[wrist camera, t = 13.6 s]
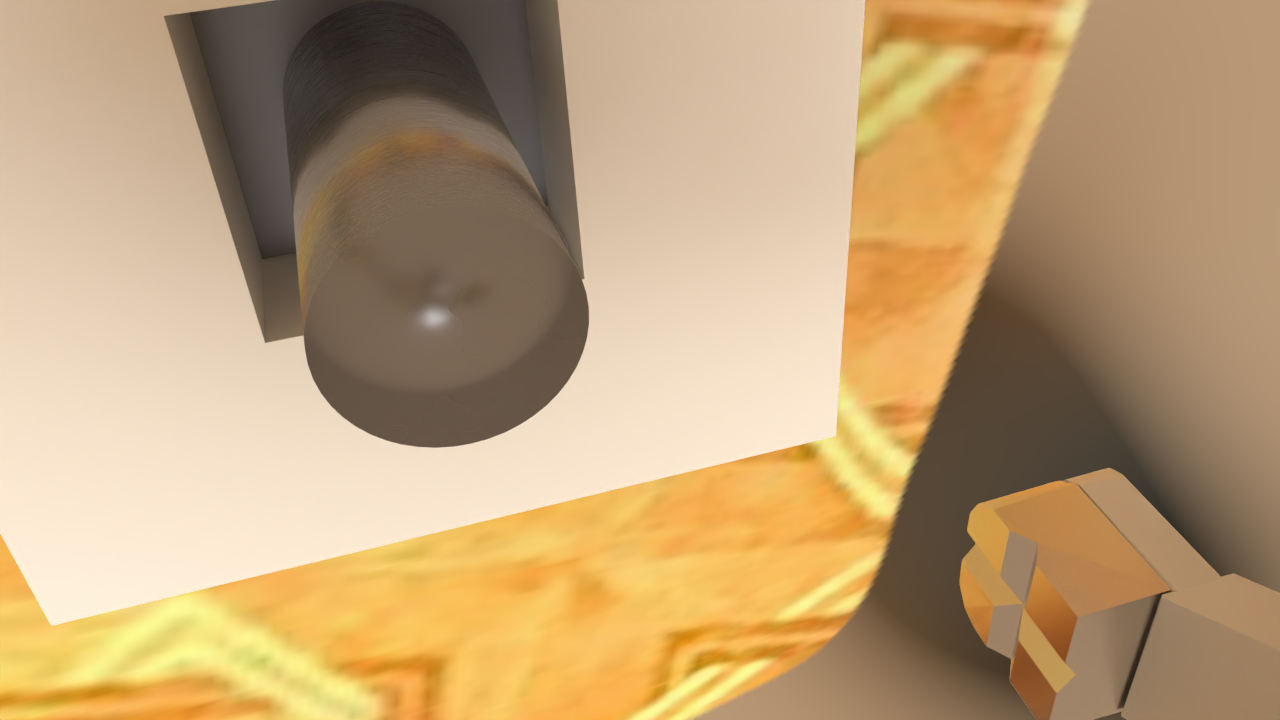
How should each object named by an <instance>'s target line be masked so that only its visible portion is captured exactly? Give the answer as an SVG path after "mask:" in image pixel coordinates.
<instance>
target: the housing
mask: <svg viewBox="0 0 1280 720" xmlns="http://www.w3.org/2000/svg"><path fill="white" fill-rule="evenodd" d="M379 1H380V2H394V3H400V4H405V5H409V6H412V7H415V8H418V9H421V10H423V11H425V12H427V13H429V14H431V15H433V16H434V17H436V18H437V19H439V20H440V21H442V22H443V23H445V24H446V25H447V26H448V27H449V28H450V29H452V30H453V31H454V32H455V34H456V35H457V36H458V37H459V38H460V39H461V40H462V42H463V43H464V45H465V46H466V47H467V49H468V50H469V52H470V54H471V56H472V58H473V60H474V62H475V64H476V66H477V68H478V70H479V72H480V74H481V76H482V78H483V80H484V82H485V84H486V86H487V88H488V90H489V92H490V94H491V96H492V98H493V100H494V102H495V105H496V107H497V109H498V111H499V113H500V115H501V117H502V119H503V121H504V123H505V125H506V127H507V129H508V131H509V133H510V135H511V137H512V139H513V141H514V143H515V145H516V147H517V149H518V151H519V153H520V155H521V157H522V159H523V161H524V163H525V165H526V167H527V169H528V171H529V173H530V175H531V177H532V179H533V181H534V183H535V185H536V187H537V189H538V191H539V193H540V195H541V197H542V200H543V202H544V204H545V206H546V208H547V210H548V212H549V214H550V216H551V218H552V220H553V222H554V224H555V226H556V228H557V230H558V232H559V234H560V236H561V238H562V240H563V242H564V244H565V246H566V248H567V250H568V252H569V254H570V256H571V258H572V260H573V262H574V264H575V266H576V268H577V270H578V272H579V274H580V276H581V278H582V281H583V284H584V287H585V290H586V294H587V300H588V306H589V327H588V334H587V340H586V343H585V347H584V350H583V354H582V356H581V358H580V360H579V363H578V365H577V367H576V369H575V371H574V372H573V374H572V376H571V377H570V379H569V381H568V382H567V383H566V384H565V386H564V387H563V388H562V390H561V391H560V392H559V393H558V394H557V395H556V396H555V397H554V398H553V399H552V400H551V402H550V403H549V404H548V405H546V406H545V407H544V408H543V409H542V410H540V411H539V412H538V413H537V414H535V415H534V416H533V417H531V418H530V419H528V420H526V421H525V422H523V423H522V424H520V425H519V426H517V427H515V428H513V429H511V430H509V431H507V432H505V433H502V434H500V435H497V436H495V437H492V438H489V439H486V440H483V441H479V442H475V443H472V444H466V445H460V446H454V447H440V448H430V447H415V446H408V445H402V444H398V443H394V442H390V441H386V440H384V439H381V438H378V437H376V436H373V435H371V434H369V433H367V432H365V431H363V430H361V429H359V428H358V427H356V426H354V425H353V424H352V423H350V422H349V421H347V420H346V419H345V418H343V417H342V416H341V415H340V414H339V413H338V412H337V411H336V410H335V409H334V408H332V407H331V406H330V404H329V403H328V402H327V400H326V399H325V398H324V397H323V395H322V394H321V392H320V391H319V389H318V387H317V385H316V384H315V382H314V380H313V378H312V375H311V372H310V369H309V367H308V363H307V358H306V353H305V346H304V335H303V323H302V312H301V300H300V289H299V278H298V266H297V255H296V243H295V232H294V220H293V209H292V198H291V186H290V175H289V163H288V152H287V140H286V129H285V118H284V106H283V83H284V76H285V72H286V68H287V65H288V62H289V60H290V58H291V55H292V53H293V51H294V50H295V48H296V46H297V45H298V43H299V42H300V40H301V39H302V38H303V37H304V35H305V34H306V33H307V32H308V31H309V30H310V29H311V28H312V27H313V26H314V25H316V24H317V23H318V22H319V21H321V20H322V19H324V18H325V17H327V16H328V15H330V14H332V13H334V12H336V11H338V10H340V9H343V8H346V7H349V6H352V5H356V4H361V3H366V2H379ZM864 15H865V0H0V534H1V536H2V538H3V539H4V541H5V543H6V545H7V547H8V548H9V550H10V552H11V554H12V556H13V557H14V559H15V561H16V563H17V565H18V567H19V568H20V570H21V572H22V574H23V576H24V577H25V579H26V581H27V583H28V585H29V586H30V588H31V590H32V592H33V594H34V596H35V597H36V599H37V601H38V603H39V605H40V606H41V608H42V610H43V612H44V614H45V615H46V617H47V619H48V621H49V623H50V624H51V626H52V625H57V624H61V623H65V622H69V621H73V620H77V619H81V618H86V617H90V616H94V615H98V614H102V613H106V612H110V611H114V610H119V609H123V608H127V607H131V606H135V605H139V604H143V603H148V602H152V601H156V600H160V599H164V598H168V597H172V596H177V595H181V594H185V593H189V592H193V591H197V590H201V589H205V588H210V587H214V586H218V585H222V584H226V583H230V582H234V581H239V580H243V579H247V578H251V577H255V576H259V575H263V574H268V573H272V572H276V571H280V570H284V569H288V568H292V567H296V566H301V565H305V564H309V563H313V562H317V561H321V560H325V559H330V558H334V557H338V556H342V555H346V554H350V553H354V552H358V551H363V550H367V549H371V548H375V547H379V546H383V545H387V544H392V543H396V542H400V541H404V540H408V539H412V538H416V537H421V536H425V535H429V534H433V533H437V532H441V531H445V530H449V529H454V528H458V527H462V526H466V525H470V524H474V523H478V522H483V521H487V520H491V519H495V518H499V517H503V516H507V515H512V514H516V513H520V512H524V511H528V510H532V509H536V508H540V507H545V506H549V505H553V504H557V503H561V502H565V501H569V500H574V499H578V498H582V497H586V496H590V495H594V494H598V493H603V492H607V491H611V490H615V489H619V488H623V487H627V486H631V485H636V484H640V483H644V482H648V481H652V480H656V479H660V478H665V477H669V476H673V475H677V474H681V473H685V472H689V471H693V470H698V469H702V468H706V467H710V466H714V465H718V464H722V463H727V462H731V461H735V460H739V459H743V458H747V457H751V456H756V455H760V454H764V453H768V452H772V451H776V450H780V449H784V448H789V447H793V446H797V445H801V444H805V443H809V442H813V441H818V440H822V439H826V438H830V437H834V436H836V425H837V411H838V396H839V381H840V367H841V352H842V337H843V323H844V308H845V293H846V279H847V264H848V249H849V235H850V220H851V205H852V191H853V176H854V162H855V147H856V132H857V118H858V103H859V88H860V74H861V59H862V44H863V30H864Z"/></svg>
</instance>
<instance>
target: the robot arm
mask: <svg viewBox="0 0 1280 720" xmlns="http://www.w3.org/2000/svg"><path fill="white" fill-rule="evenodd" d="M967 532H968V533H969V534H970V536H971V537H972V538H973V540H974V541H975V543H976V544H975V545H974V547H973V548H972V549H971V550H970V552H969V553H968V554H967V555H966V556H965V558H964V559H963V560H962V564H961V574H960V588H961V592H962V597H963V602H964V606H965V609H966V611H967V613H968V615H969V618H970V620H971V622H972V624H973V627H974V628H975V630H976V631H977V633H978V634H979V636H980V637H981V639H982V640H983V642H984V643H985V645H986V646H987V647H989V648H991V649H993V650H995V651H997V652H999V653H1001V654H1003V655H1004V656H1006V657H1008V658H1011V671H1010V682H1011V683H1012V685H1013V686H1014V688H1015V689H1016V690H1017V692H1018V693H1019V695H1020V696H1021V698H1022V699H1023V700H1024V702H1025V703H1026V705H1027V706H1028V708H1029V709H1030V711H1031V712H1032V714H1033V715H1034V717H1035V718H1036V719H1037V720H1094V719H1097V718H1100V717H1103V716H1107V715H1110V714H1114V713H1118V712H1121V711H1122V714H1121V716H1122V717H1123V718H1125V719H1127V720H1280V593H1278V592H1276V591H1274V590H1271V589H1269V588H1267V587H1264V586H1262V585H1259V584H1257V583H1255V582H1252V581H1250V580H1248V579H1245V578H1243V577H1241V576H1238V575H1236V574H1230V575H1227V576H1222V577H1220V576H1219V574H1218V573H1217V572H1216V571H1215V570H1214V569H1213V568H1212V567H1211V566H1210V565H1209V564H1208V563H1207V562H1206V561H1205V560H1204V559H1203V558H1202V557H1201V556H1200V555H1199V554H1198V553H1197V552H1196V551H1195V550H1194V548H1193V547H1192V546H1191V545H1189V543H1188V542H1187V541H1186V540H1185V539H1184V538H1183V537H1182V536H1181V535H1180V534H1179V533H1178V532H1177V531H1176V530H1175V529H1174V528H1173V527H1172V526H1171V525H1170V524H1169V522H1168V521H1167V520H1166V519H1165V518H1164V517H1163V516H1162V515H1161V514H1160V513H1159V512H1158V511H1157V510H1156V509H1155V508H1154V507H1153V506H1152V505H1151V504H1150V503H1149V502H1148V501H1147V500H1146V499H1145V498H1144V497H1143V496H1142V494H1140V492H1139V491H1138V490H1137V489H1136V488H1135V487H1134V486H1133V485H1132V484H1131V483H1130V482H1129V481H1128V480H1127V479H1126V478H1125V477H1124V476H1123V475H1122V474H1121V473H1119V472H1117V471H1115V470H1113V469H1111V468H1107V469H1103V470H1099V471H1095V472H1092V473H1089V474H1085V475H1081V476H1077V477H1074V478H1071V479H1067V480H1064V481H1056V482H1052V483H1049V484H1046V485H1042V486H1038V487H1035V488H1032V489H1028V490H1025V491H1021V492H1018V493H1014V494H1011V495H1007V496H1004V497H1001V498H997V499H994V500H990V501H987V502H983V503H980V504H977V506H976V507H975V508H974V509H973V511H972V512H971V513H970V517H969V523H968V528H967Z"/></svg>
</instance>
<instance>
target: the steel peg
mask: <svg viewBox="0 0 1280 720" xmlns="http://www.w3.org/2000/svg"><path fill="white" fill-rule="evenodd" d="M283 106H284V118H285V129H286V140H287V152H288V163H289V175H290V186H291V198H292V209H293V220H294V232H295V243H296V255H297V266H298V278H299V289H300V300H301V312H302V323H303V335H304V346H305V353H306V358H307V363H308V367H309V369H310V372H311V375H312V378H313V380H314V382H315V384H316V385H317V387H318V389H319V391H320V392H321V394H322V395H323V397H324V398H325V399H326V400H327V402H328V403H329V404H330V406H331V407H332V408H334V409H335V410H336V411H337V412H338V413H339V414H340V415H341V416H342V417H343V418H345V419H346V420H347V421H349V422H350V423H352V424H353V425H354V426H356V427H358V428H359V429H361V430H363V431H365V432H367V433H369V434H371V435H373V436H376V437H378V438H381V439H384V440H386V441H390V442H394V443H398V444H402V445H408V446H415V447H430V448H440V447H454V446H460V445H466V444H472V443H475V442H479V441H483V440H486V439H489V438H492V437H495V436H497V435H500V434H502V433H505V432H507V431H509V430H511V429H513V428H515V427H517V426H519V425H520V424H522V423H523V422H525V421H526V420H528V419H530V418H531V417H533V416H534V415H535V414H537V413H538V412H539V411H540V410H542V409H543V408H544V407H545V406H546V405H548V404H549V403H550V402H551V400H552V399H553V398H554V397H555V396H556V395H557V394H558V393H559V392H560V391H561V390H562V388H563V387H564V386H565V384H566V383H567V382H568V381H569V379H570V377H571V376H572V374H573V372H574V371H575V369H576V367H577V365H578V363H579V360H580V358H581V356H582V354H583V350H584V347H585V343H586V340H587V334H588V327H589V306H588V300H587V294H586V290H585V287H584V284H583V281H582V278H581V276H580V274H579V272H578V270H577V268H576V266H575V264H574V262H573V260H572V258H571V256H570V254H569V252H568V250H567V248H566V246H565V244H564V242H563V240H562V238H561V236H560V234H559V232H558V230H557V228H556V226H555V224H554V222H553V220H552V218H551V216H550V214H549V212H548V210H547V208H546V206H545V204H544V202H543V200H542V197H541V195H540V193H539V191H538V189H537V187H536V185H535V183H534V181H533V179H532V177H531V175H530V173H529V171H528V169H527V167H526V165H525V163H524V161H523V159H522V157H521V155H520V153H519V151H518V149H517V147H516V145H515V143H514V141H513V139H512V137H511V135H510V133H509V131H508V129H507V127H506V125H505V123H504V121H503V119H502V117H501V115H500V113H499V111H498V109H497V107H496V105H495V102H494V100H493V98H492V96H491V94H490V92H489V90H488V88H487V86H486V84H485V82H484V80H483V78H482V76H481V74H480V72H479V70H478V68H477V66H476V64H475V62H474V60H473V58H472V56H471V54H470V52H469V50H468V49H467V47H466V46H465V45H464V43H463V42H462V40H461V39H460V38H459V37H458V36H457V35H456V34H455V32H454V31H453V30H452V29H450V28H449V27H448V26H447V25H446V24H445V23H443V22H442V21H440V20H439V19H437V18H436V17H434V16H433V15H431V14H429V13H427V12H425V11H423V10H421V9H418V8H415V7H412V6H409V5H405V4H400V3H394V2H380V1H379V2H366V3H361V4H356V5H352V6H349V7H346V8H343V9H340V10H338V11H336V12H334V13H332V14H330V15H328V16H327V17H325V18H324V19H322V20H321V21H319V22H318V23H317V24H316V25H314V26H313V27H312V28H311V29H310V30H309V31H308V32H307V33H306V34H305V35H304V37H303V38H302V39H301V40H300V42H299V43H298V45H297V46H296V48H295V50H294V51H293V53H292V55H291V58H290V60H289V62H288V65H287V68H286V72H285V76H284V83H283Z"/></svg>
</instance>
